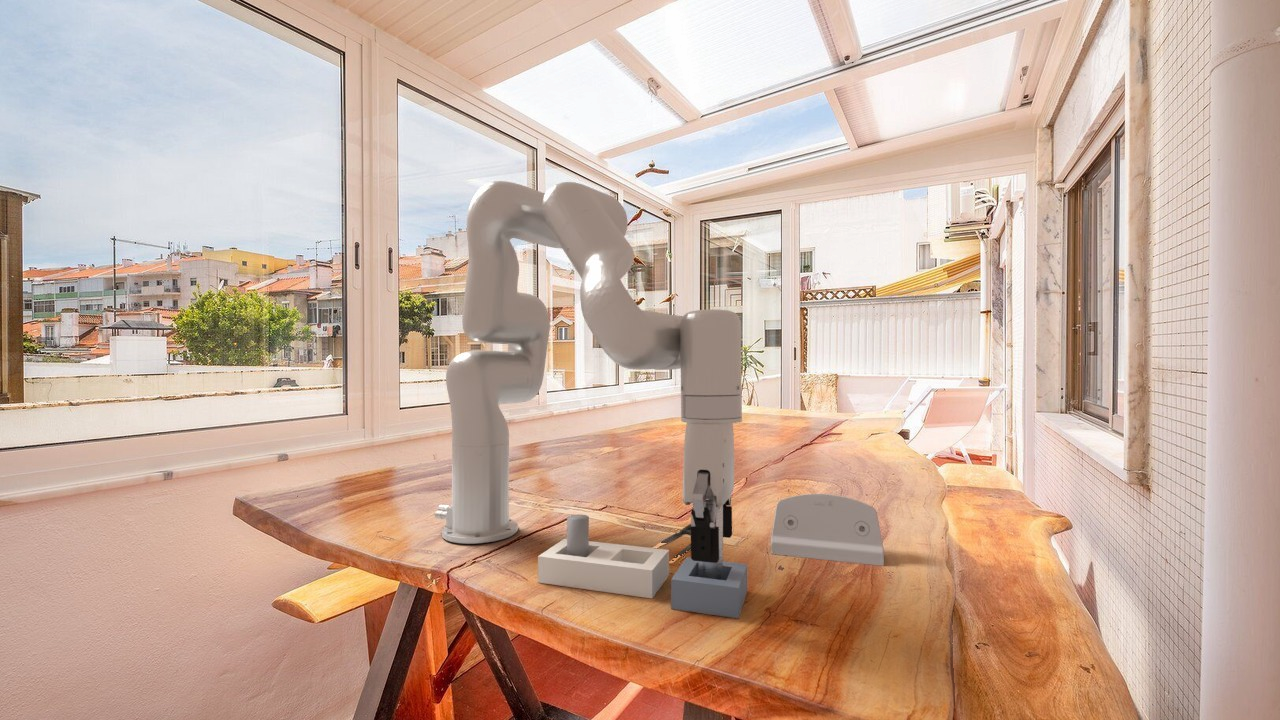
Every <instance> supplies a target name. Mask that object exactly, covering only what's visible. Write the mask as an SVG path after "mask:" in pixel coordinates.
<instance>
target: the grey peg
mask: <svg viewBox="0 0 1280 720" xmlns="http://www.w3.org/2000/svg"><path fill="white" fill-rule="evenodd" d="M709 511H710V512H709V513H710V516H711V509H709ZM716 527H719V560H718V562H717V563H711V562H701V561H699V577H702V578H710V579H718V580H723V561H724V537H723V505H722V506H721V507H718V512H717V521H716Z"/></svg>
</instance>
